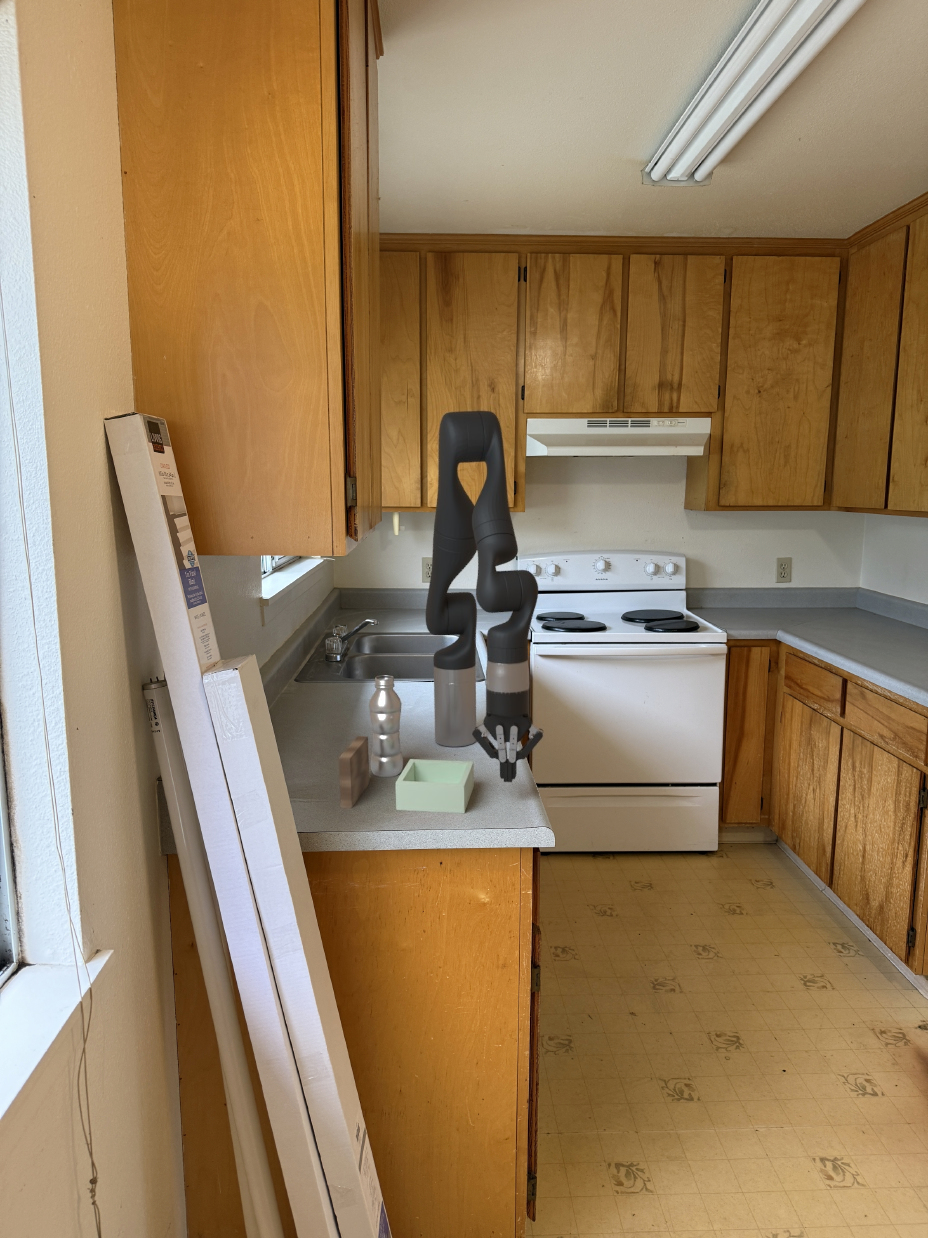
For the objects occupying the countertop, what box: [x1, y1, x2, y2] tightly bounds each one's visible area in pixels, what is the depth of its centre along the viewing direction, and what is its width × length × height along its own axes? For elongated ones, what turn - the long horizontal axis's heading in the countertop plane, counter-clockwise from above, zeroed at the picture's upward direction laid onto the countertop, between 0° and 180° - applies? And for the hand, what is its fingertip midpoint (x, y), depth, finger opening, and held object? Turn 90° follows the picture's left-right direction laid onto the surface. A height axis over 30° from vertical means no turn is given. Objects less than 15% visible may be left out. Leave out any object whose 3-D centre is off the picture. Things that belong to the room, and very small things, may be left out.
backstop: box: [338, 735, 370, 809], centre depth 147 cm, size 12×24×10 cm, turn 82°
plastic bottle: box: [368, 674, 404, 778], centre depth 159 cm, size 6×7×20 cm
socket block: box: [395, 758, 475, 814], centre depth 147 cm, size 12×12×5 cm
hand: (508, 780), depth 144 cm, fingers closed
